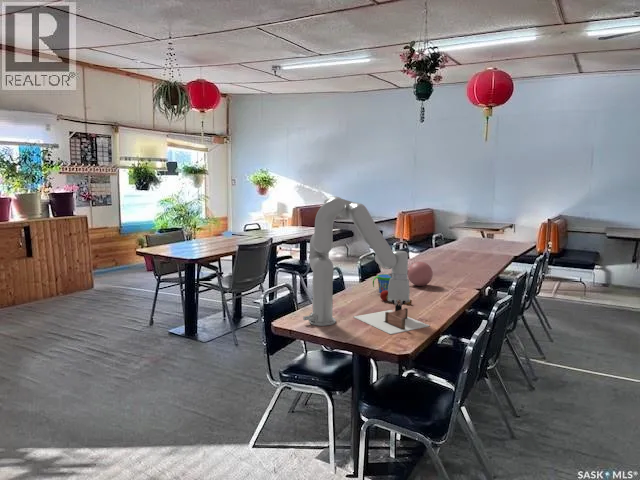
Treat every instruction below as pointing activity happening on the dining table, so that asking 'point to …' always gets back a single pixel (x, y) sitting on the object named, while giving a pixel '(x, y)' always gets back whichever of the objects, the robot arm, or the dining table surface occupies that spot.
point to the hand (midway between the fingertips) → (398, 313)
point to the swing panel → (400, 313)
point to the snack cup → (382, 282)
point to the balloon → (419, 273)
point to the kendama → (385, 297)
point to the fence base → (394, 320)
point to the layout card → (379, 323)
